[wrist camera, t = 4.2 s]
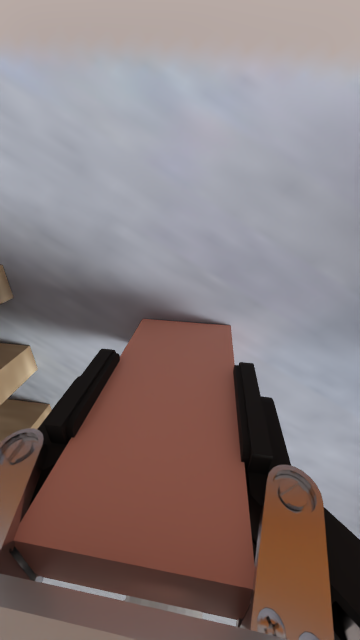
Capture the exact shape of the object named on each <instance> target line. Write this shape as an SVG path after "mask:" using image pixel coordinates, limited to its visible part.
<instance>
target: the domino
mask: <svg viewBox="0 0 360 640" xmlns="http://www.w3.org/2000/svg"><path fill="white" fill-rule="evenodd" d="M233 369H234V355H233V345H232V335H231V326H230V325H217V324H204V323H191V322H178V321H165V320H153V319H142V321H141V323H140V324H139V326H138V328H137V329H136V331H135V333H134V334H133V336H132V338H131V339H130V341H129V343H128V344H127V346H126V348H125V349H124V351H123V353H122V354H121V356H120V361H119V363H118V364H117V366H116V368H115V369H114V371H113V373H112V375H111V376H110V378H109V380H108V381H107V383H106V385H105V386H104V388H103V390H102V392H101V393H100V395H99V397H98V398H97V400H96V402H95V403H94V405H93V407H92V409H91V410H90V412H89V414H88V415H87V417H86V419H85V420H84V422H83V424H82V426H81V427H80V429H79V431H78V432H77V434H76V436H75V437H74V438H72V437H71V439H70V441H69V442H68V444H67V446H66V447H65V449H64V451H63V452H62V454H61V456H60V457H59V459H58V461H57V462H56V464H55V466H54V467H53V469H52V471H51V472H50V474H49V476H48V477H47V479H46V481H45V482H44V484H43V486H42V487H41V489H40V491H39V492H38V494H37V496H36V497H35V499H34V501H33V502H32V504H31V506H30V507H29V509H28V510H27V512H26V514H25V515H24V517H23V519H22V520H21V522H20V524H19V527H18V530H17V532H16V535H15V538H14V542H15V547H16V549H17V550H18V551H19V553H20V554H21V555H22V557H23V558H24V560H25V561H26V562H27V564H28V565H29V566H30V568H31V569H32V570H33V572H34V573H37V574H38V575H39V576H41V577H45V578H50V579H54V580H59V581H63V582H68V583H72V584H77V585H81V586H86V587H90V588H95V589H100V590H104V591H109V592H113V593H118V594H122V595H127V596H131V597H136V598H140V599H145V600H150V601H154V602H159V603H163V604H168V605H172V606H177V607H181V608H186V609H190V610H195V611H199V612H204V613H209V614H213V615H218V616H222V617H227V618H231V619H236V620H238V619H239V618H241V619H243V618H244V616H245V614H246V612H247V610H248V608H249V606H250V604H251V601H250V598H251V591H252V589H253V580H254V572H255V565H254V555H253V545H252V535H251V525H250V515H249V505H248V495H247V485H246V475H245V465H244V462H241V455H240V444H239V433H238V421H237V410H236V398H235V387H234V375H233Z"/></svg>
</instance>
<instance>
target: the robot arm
mask: <svg viewBox="0 0 360 640" xmlns="http://www.w3.org/2000/svg"><path fill="white" fill-rule="evenodd" d="M119 361H120V356H119V354H117V353H116V351H115V350H110V349H101V350H100V351H99V352H98V354H97V355H96V356H95V358H94V359H93V360H92V362H91V363H90V364H89V366H88V367H87V368H86V370H85V371H84V372H83V374H82V375H81V376H79V377H77V379H76V380H75V381H74V382H73V383H72V385H71V386H70V387H69V389H68V390H67V391H66V392H65V394H64V395H63V396H62V398H61V399H60V400H59V402H58V403H57V404H56V405H55V407H54V408H53V409H52V411H51V412H50V413H49V415H48V416H47V417H46V418H45V420H44V421H43V422H42V424H41V425H40V426H39V428H38V429H35V428H27V429H22V430H19V431H17V432H14V433H12V434H11V435H9V436H8V437H6V438H5V439H4V440H2V441H1V442H0V640H360V540H359V539H358V538H357V537H356V536H355V535H354V534H353V533H352V532H351V531H349V530H348V529H347V528H346V527H345V526H344V525H343V524H342V523H341V522H340V521H339V520H337V519H336V518H335V517H334V516H333V515H332V514H331V513H330V512H329V511H328V510H326V509H325V508H324V507H323V500H322V496H321V493H320V491H319V489H318V487H317V485H316V484H315V483H314V481H313V480H312V479H311V478H310V477H309V476H308V475H307V474H306V473H304V472H303V471H302V470H300V469H298V468H296V467H294V466H291V464H290V460H289V456H288V453H287V449H286V445H285V442H284V438H283V434H282V430H281V427H280V423H279V419H278V416H277V412H276V408H275V405H274V401H273V399H272V398H269V397H260V392H259V387H258V382H257V378H256V373H255V368H254V364H253V363H243V362H240V363H239V366H238V365H234V369H233V375H234V387H235V398H236V410H237V421H238V433H239V444H240V455H241V462H244V465H245V475H246V485H247V495H248V505H249V515H250V525H251V535H252V545H253V555H254V565H255V572H254V580H253V589H252V591H251V598H250V601H251V604H250V606H249V608H248V610H247V612H246V614H245V616H244V618H243V619H241V618H239V619H238V620H237V622H236V627H235V626H230V625H226V624H222V623H217V622H213V621H209V620H204V619H202V613H203V612H199V611H195V610H190V609H186V608H181V607H177V606H172V605H168V604H163V603H159V602H154V601H150V600H145V599H140V598H136V597H131V596H127V595H126V599H125V600H124V601H121V600H117V599H112V598H108V597H103V596H99V595H94V594H90V593H85V592H81V591H77V590H72V589H68V588H63V587H59V586H54V585H50V584H45V583H42V581H43V577H41V576H39V575H38V574H37V573H34V572H33V570H32V569H31V568H30V566H29V565H28V564H27V562H26V561H25V560H24V558H23V557H22V555H21V554H20V553H19V551H18V550H17V549H16V547H15V542H14V538H15V535H16V532H17V530H18V527H19V524H20V522H21V520H22V519H23V517H24V515H25V514H26V512H27V510H28V509H29V507H30V506H31V504H32V502H33V501H34V499H35V497H36V496H37V494H38V492H39V491H40V489H41V487H42V486H43V484H44V482H45V481H46V479H47V477H48V476H49V474H50V472H51V471H52V469H53V467H54V466H55V464H56V462H57V461H58V459H59V457H60V456H61V454H62V452H63V451H64V449H65V447H66V446H67V444H68V442H69V441H70V439H71V437H72V438H74V437H75V436H76V434H77V432H78V431H79V429H80V427H81V426H82V424H83V422H84V420H85V419H86V417H87V415H88V414H89V412H90V410H91V409H92V407H93V405H94V403H95V402H96V400H97V398H98V397H99V395H100V393H101V392H102V390H103V388H104V386H105V385H106V383H107V381H108V380H109V378H110V376H111V375H112V373H113V371H114V369H115V368H116V366H117V364H118V363H119Z"/></svg>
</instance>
